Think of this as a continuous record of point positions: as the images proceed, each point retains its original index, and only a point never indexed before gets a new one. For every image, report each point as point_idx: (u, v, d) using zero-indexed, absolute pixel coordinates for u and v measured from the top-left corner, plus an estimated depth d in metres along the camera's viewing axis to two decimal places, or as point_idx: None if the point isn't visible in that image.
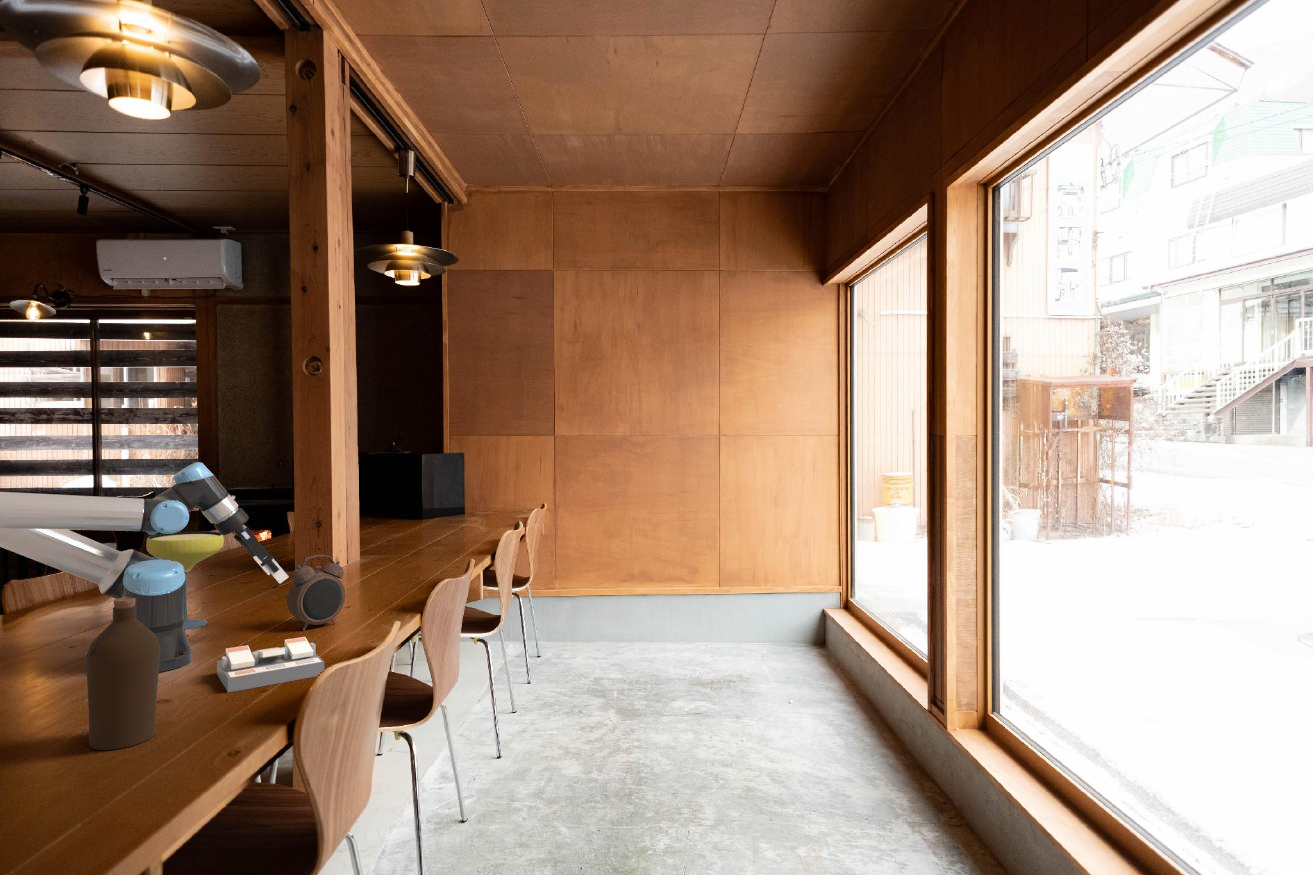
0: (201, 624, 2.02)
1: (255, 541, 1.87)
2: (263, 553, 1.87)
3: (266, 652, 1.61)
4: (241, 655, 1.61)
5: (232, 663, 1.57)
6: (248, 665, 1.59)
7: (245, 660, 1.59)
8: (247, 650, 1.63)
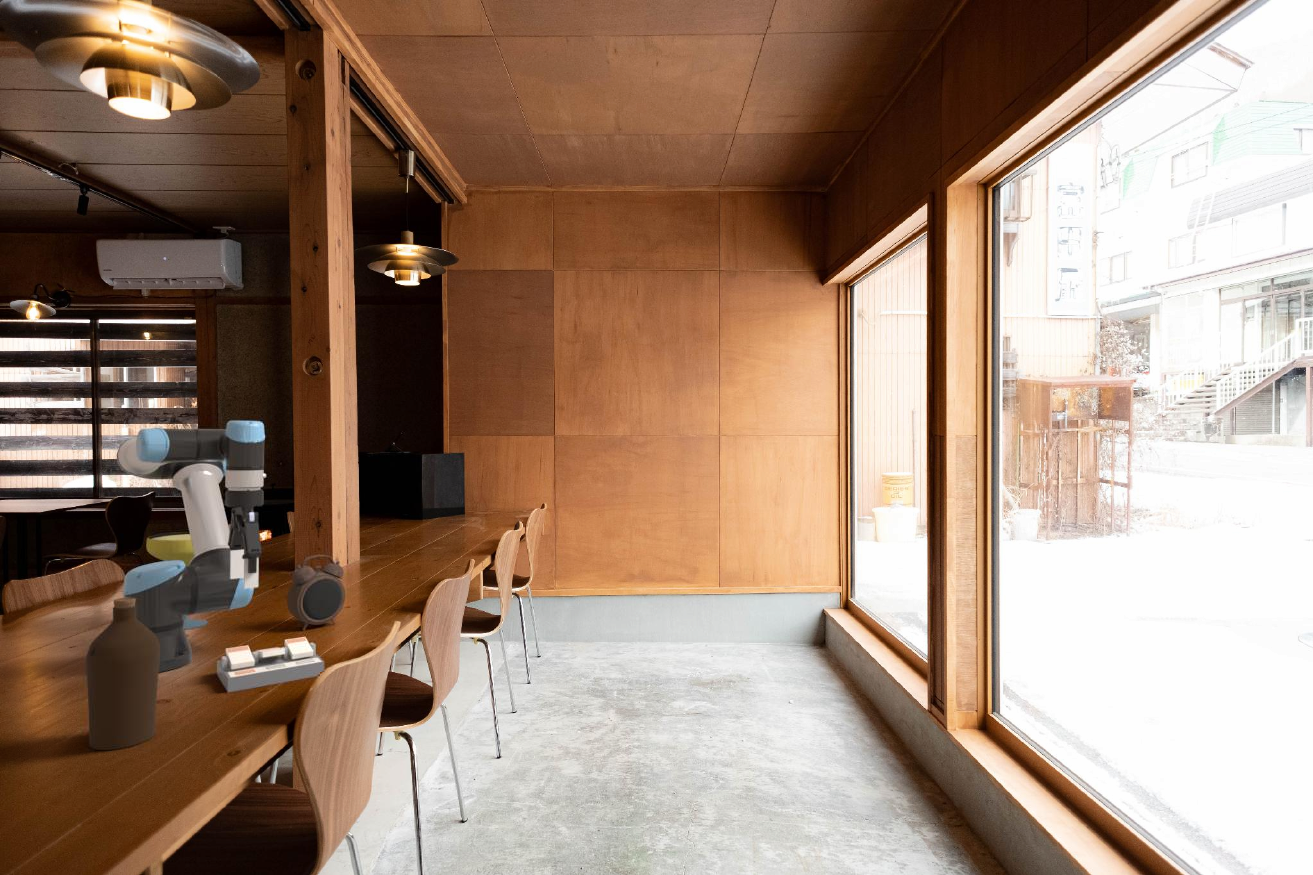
0: (201, 624, 2.02)
1: (256, 528, 1.59)
2: (255, 544, 1.57)
3: (266, 652, 1.61)
4: (241, 655, 1.61)
5: (232, 663, 1.57)
6: (248, 665, 1.59)
7: (245, 660, 1.59)
8: (247, 650, 1.63)
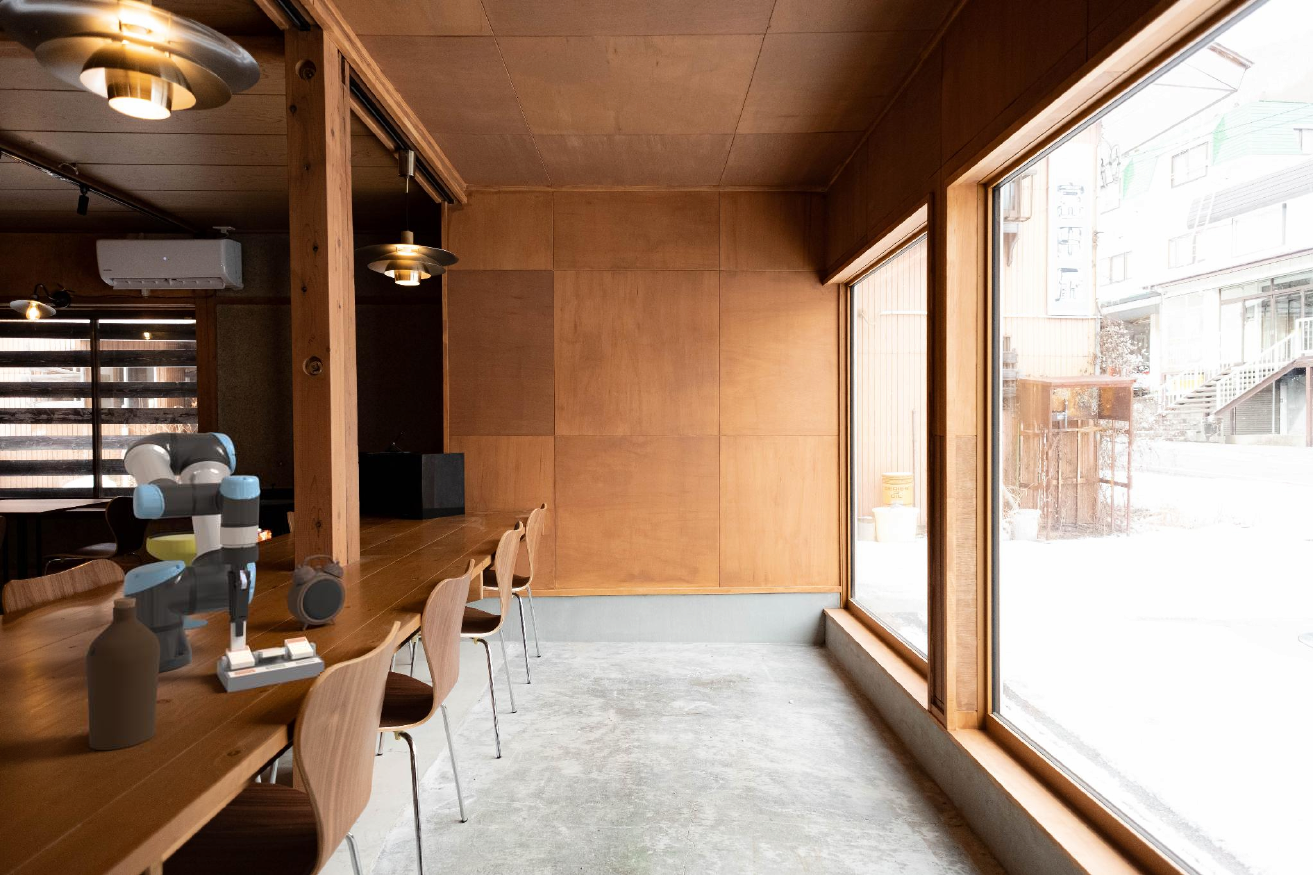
0: (201, 624, 2.02)
1: (246, 595, 1.60)
2: (243, 611, 1.60)
3: (266, 652, 1.61)
4: (241, 655, 1.61)
5: (232, 663, 1.57)
6: (248, 665, 1.59)
7: (245, 660, 1.59)
8: (247, 650, 1.63)
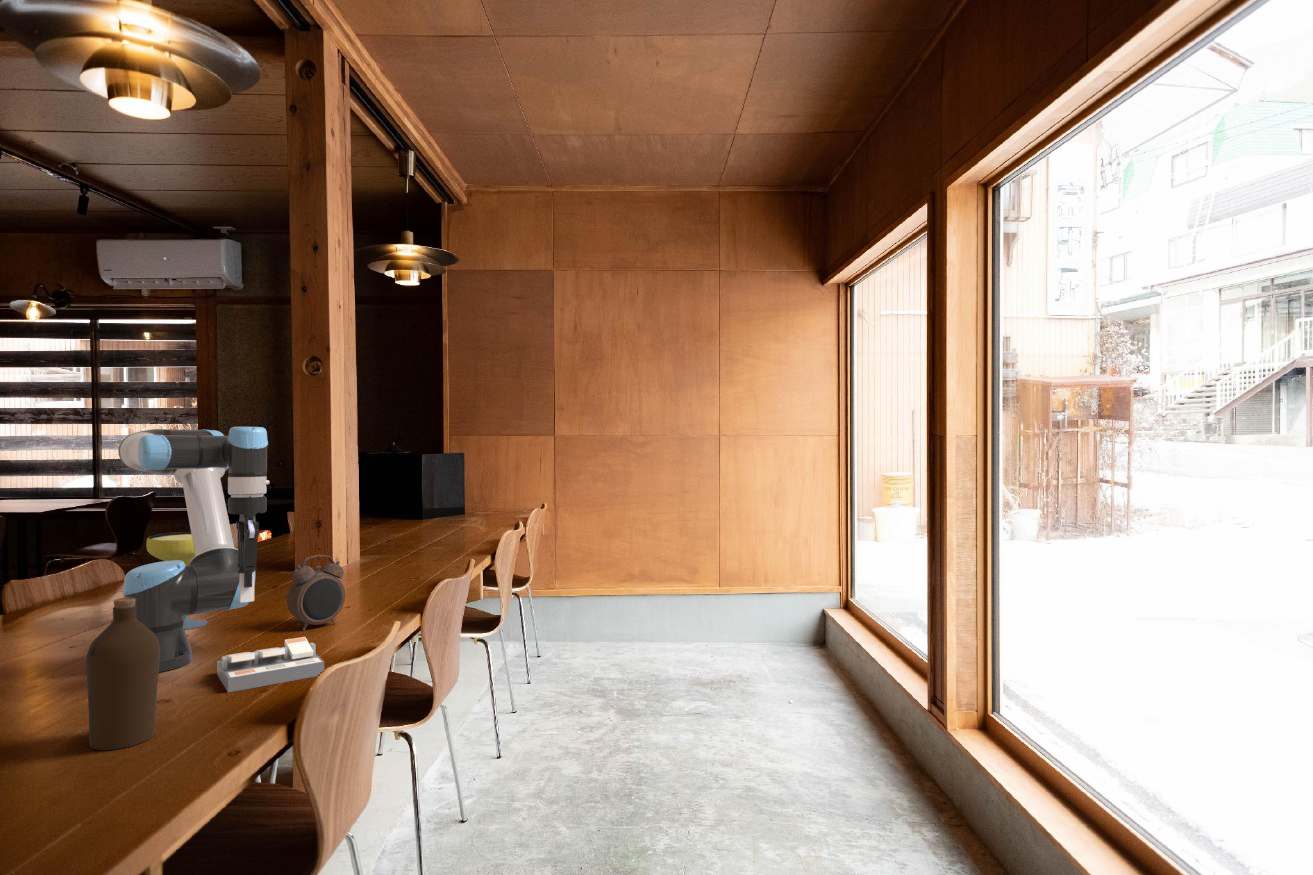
0: (201, 624, 2.02)
1: (254, 545, 1.59)
2: (251, 561, 1.59)
3: (266, 652, 1.61)
4: (241, 654, 1.61)
5: (232, 656, 1.57)
6: (248, 658, 1.59)
7: (245, 654, 1.59)
8: (247, 652, 1.63)
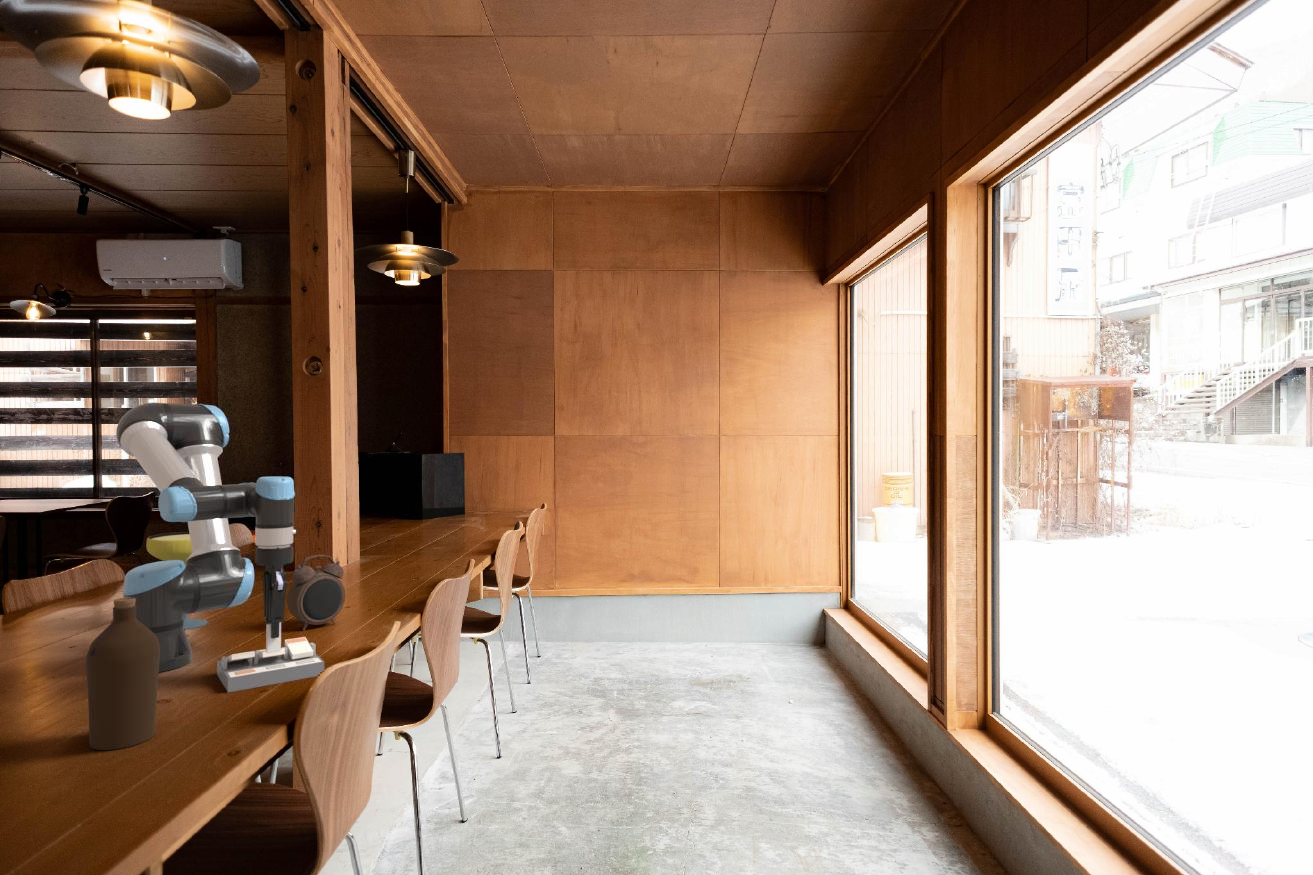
0: (201, 624, 2.02)
1: (282, 596, 1.59)
2: (279, 613, 1.59)
3: (266, 652, 1.61)
4: None
5: (232, 654, 1.57)
6: (248, 656, 1.59)
7: (245, 652, 1.59)
8: None
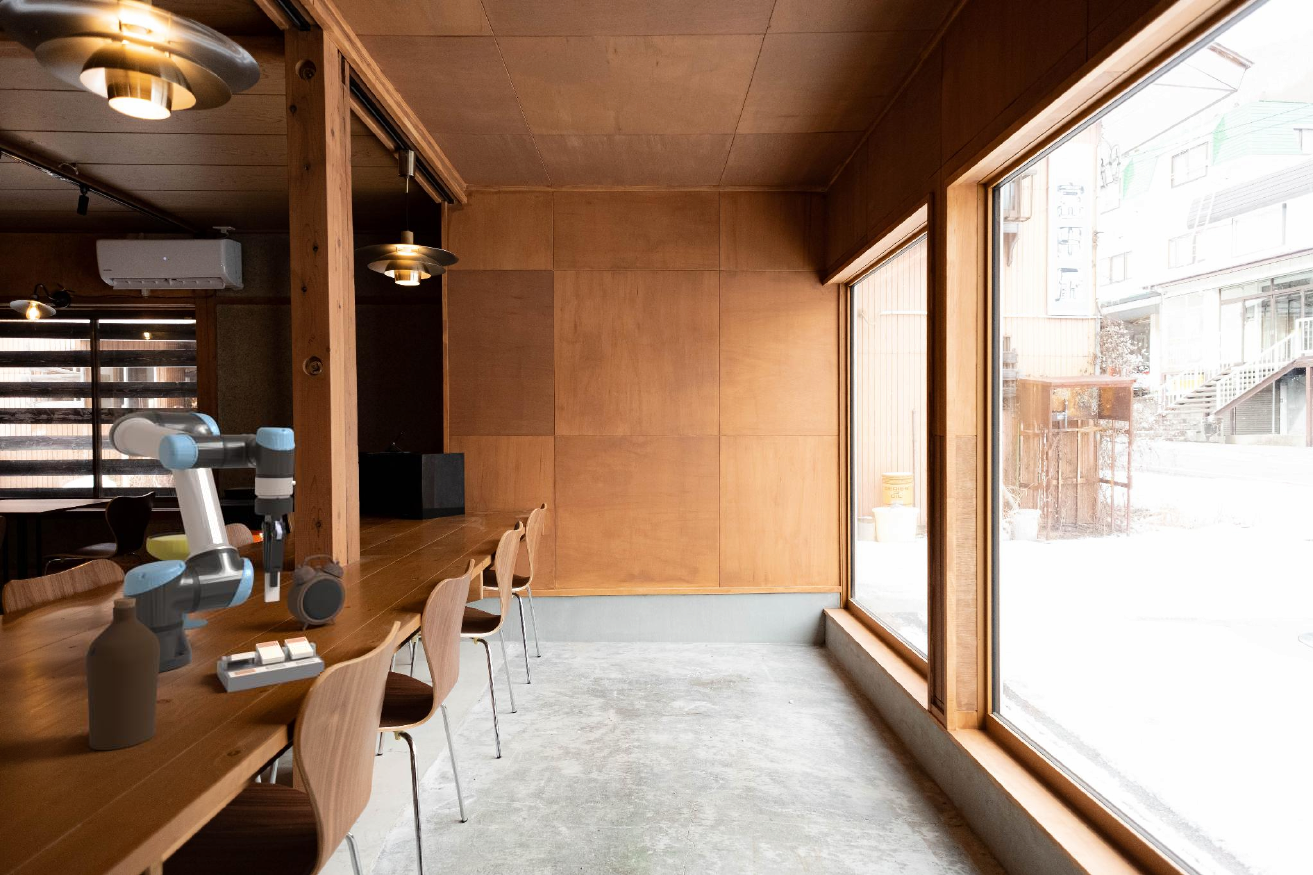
0: (201, 624, 2.02)
1: (281, 546, 1.60)
2: (277, 562, 1.61)
3: (266, 660, 1.61)
4: None
5: (232, 655, 1.57)
6: (248, 656, 1.59)
7: None
8: None
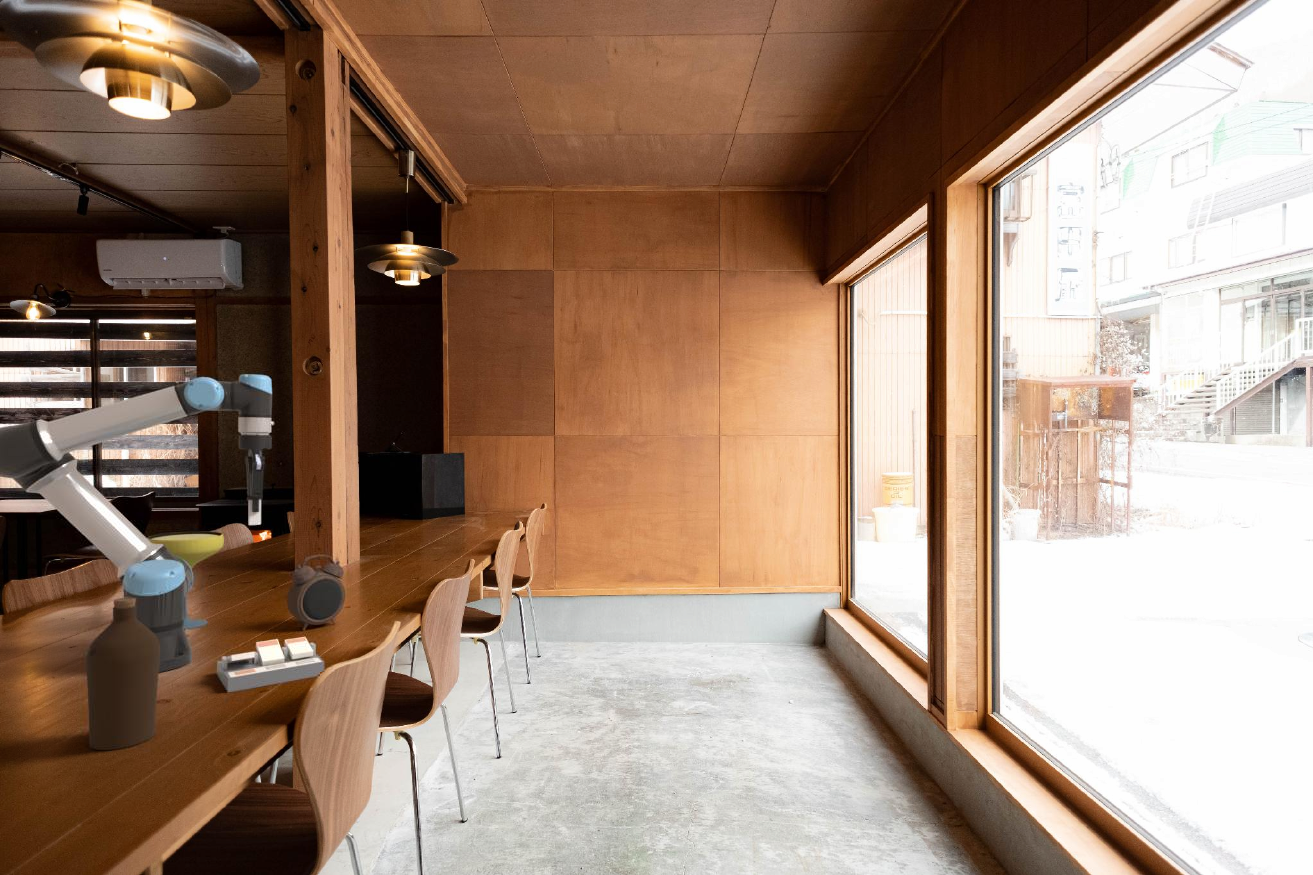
0: (201, 624, 2.02)
1: (261, 475, 1.86)
2: (258, 489, 1.86)
3: (266, 661, 1.61)
4: None
5: (232, 655, 1.57)
6: (248, 656, 1.59)
7: None
8: None
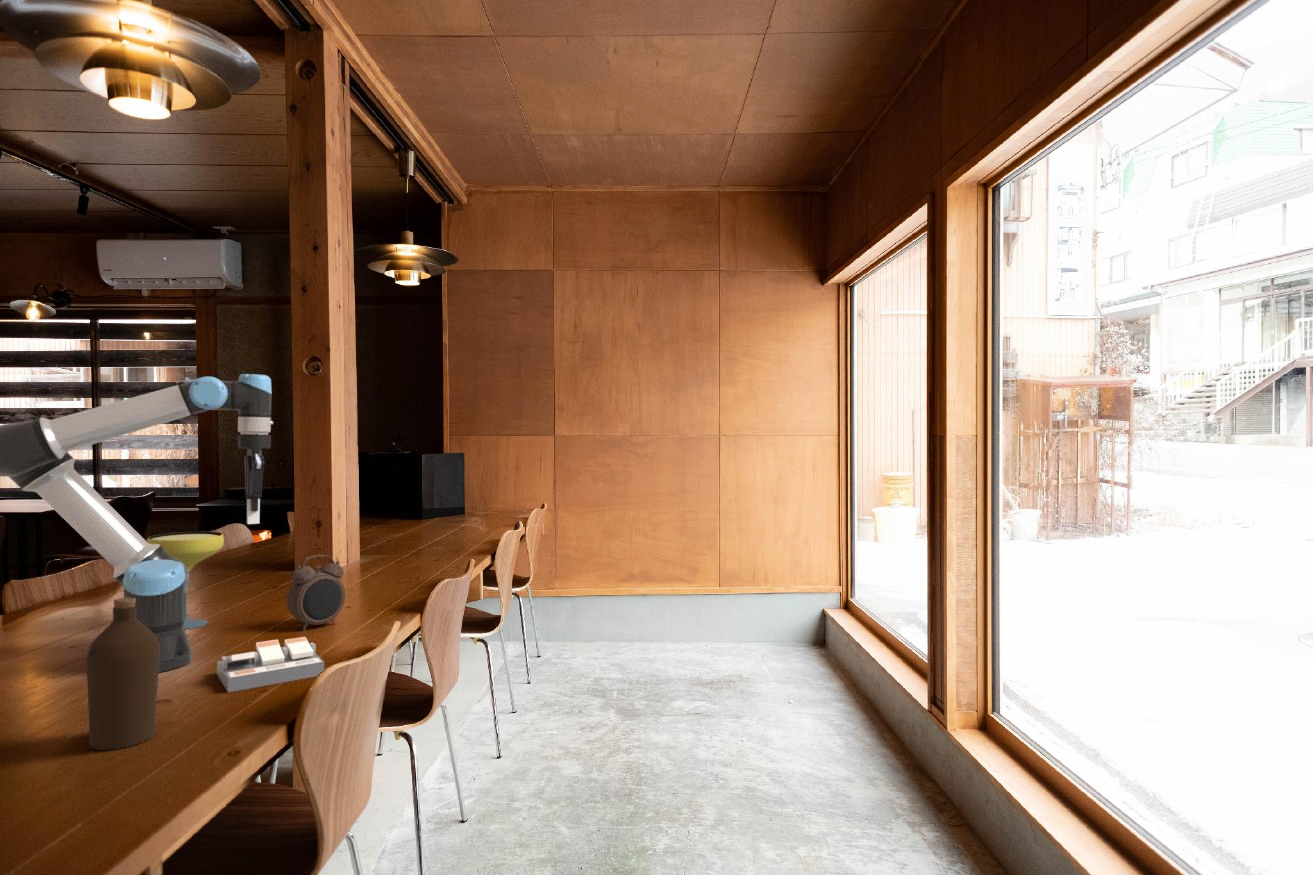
0: (201, 624, 2.02)
1: (260, 475, 1.87)
2: (257, 489, 1.88)
3: (266, 661, 1.61)
4: None
5: (232, 655, 1.57)
6: (248, 656, 1.59)
7: None
8: None
